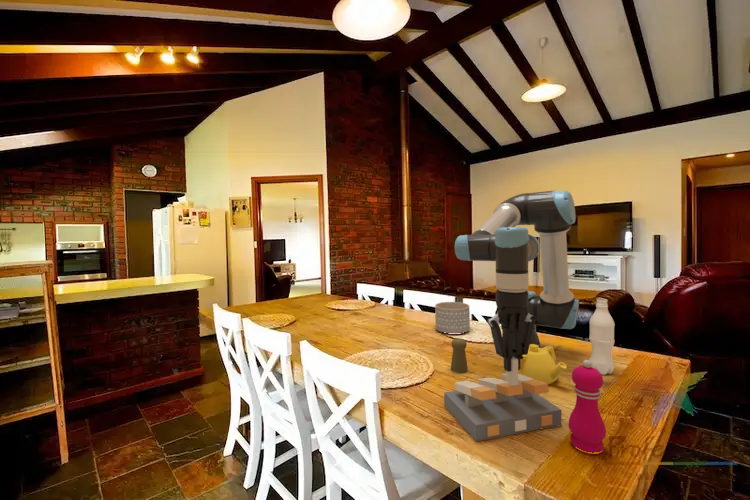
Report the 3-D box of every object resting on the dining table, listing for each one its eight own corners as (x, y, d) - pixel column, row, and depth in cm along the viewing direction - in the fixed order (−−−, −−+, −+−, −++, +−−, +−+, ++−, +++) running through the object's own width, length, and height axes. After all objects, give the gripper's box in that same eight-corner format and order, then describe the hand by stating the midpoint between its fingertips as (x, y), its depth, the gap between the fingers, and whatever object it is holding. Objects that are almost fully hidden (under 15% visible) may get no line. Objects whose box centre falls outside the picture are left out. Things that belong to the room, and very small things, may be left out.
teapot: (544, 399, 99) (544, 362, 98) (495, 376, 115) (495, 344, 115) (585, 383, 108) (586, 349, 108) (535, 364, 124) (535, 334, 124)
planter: (435, 335, 161) (435, 309, 161) (435, 325, 178) (435, 301, 177) (471, 336, 159) (471, 309, 158) (467, 326, 175) (467, 301, 174)
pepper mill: (561, 437, 81) (561, 355, 80) (590, 435, 81) (590, 353, 80) (582, 458, 73) (583, 367, 72) (613, 455, 74) (615, 365, 73)
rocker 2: (492, 384, 98) (490, 377, 98) (523, 393, 84) (521, 385, 85) (479, 386, 97) (478, 379, 97) (509, 396, 83) (507, 387, 84)
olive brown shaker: (468, 373, 118) (468, 342, 117) (450, 372, 119) (450, 341, 118) (467, 366, 124) (467, 337, 123) (450, 365, 125) (450, 336, 124)
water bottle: (611, 369, 118) (612, 298, 117) (616, 377, 112) (617, 302, 110) (587, 366, 121) (588, 296, 120) (590, 374, 115) (591, 300, 113)
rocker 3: (514, 379, 100) (513, 371, 100) (548, 391, 86) (547, 383, 86) (502, 380, 99) (501, 373, 99) (535, 394, 85) (534, 385, 85)
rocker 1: (468, 388, 96) (467, 380, 96) (496, 398, 83) (495, 389, 83) (455, 390, 95) (454, 382, 95) (481, 400, 82) (480, 391, 82)
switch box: (517, 394, 102) (517, 373, 102) (562, 425, 86) (562, 400, 85) (444, 406, 97) (444, 383, 96) (476, 442, 80) (476, 415, 79)
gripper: (524, 285, 89) (524, 373, 90) (479, 288, 86) (480, 380, 87) (545, 290, 82) (545, 385, 83) (497, 293, 79) (498, 393, 80)
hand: (512, 382), depth 85 cm, fingers closed
